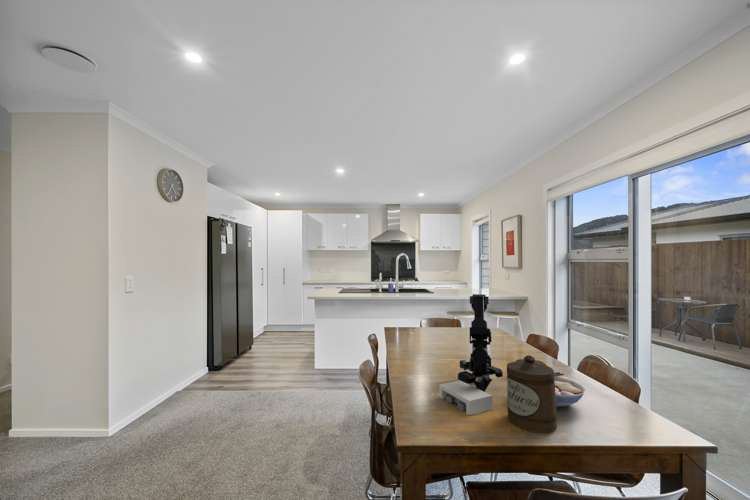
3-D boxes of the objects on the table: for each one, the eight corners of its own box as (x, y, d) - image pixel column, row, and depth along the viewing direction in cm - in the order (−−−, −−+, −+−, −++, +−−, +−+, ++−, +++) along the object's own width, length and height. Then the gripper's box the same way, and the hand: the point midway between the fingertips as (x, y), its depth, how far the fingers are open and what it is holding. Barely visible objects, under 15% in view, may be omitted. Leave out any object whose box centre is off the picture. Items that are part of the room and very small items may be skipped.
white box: (460, 392, 129) (460, 380, 130) (492, 409, 114) (492, 395, 114) (439, 397, 125) (439, 384, 125) (469, 415, 109) (469, 400, 109)
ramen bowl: (548, 421, 105) (547, 396, 106) (503, 394, 127) (503, 374, 128) (604, 412, 112) (603, 389, 112) (553, 388, 134) (552, 369, 134)
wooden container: (498, 415, 109) (497, 352, 110) (530, 409, 114) (528, 348, 116) (533, 437, 95) (531, 364, 97) (567, 428, 100) (565, 359, 102)
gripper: (482, 349, 135) (483, 385, 134) (448, 354, 127) (449, 393, 126) (503, 355, 125) (504, 395, 124) (467, 361, 117) (468, 404, 116)
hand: (480, 396), depth 123 cm, fingers closed
